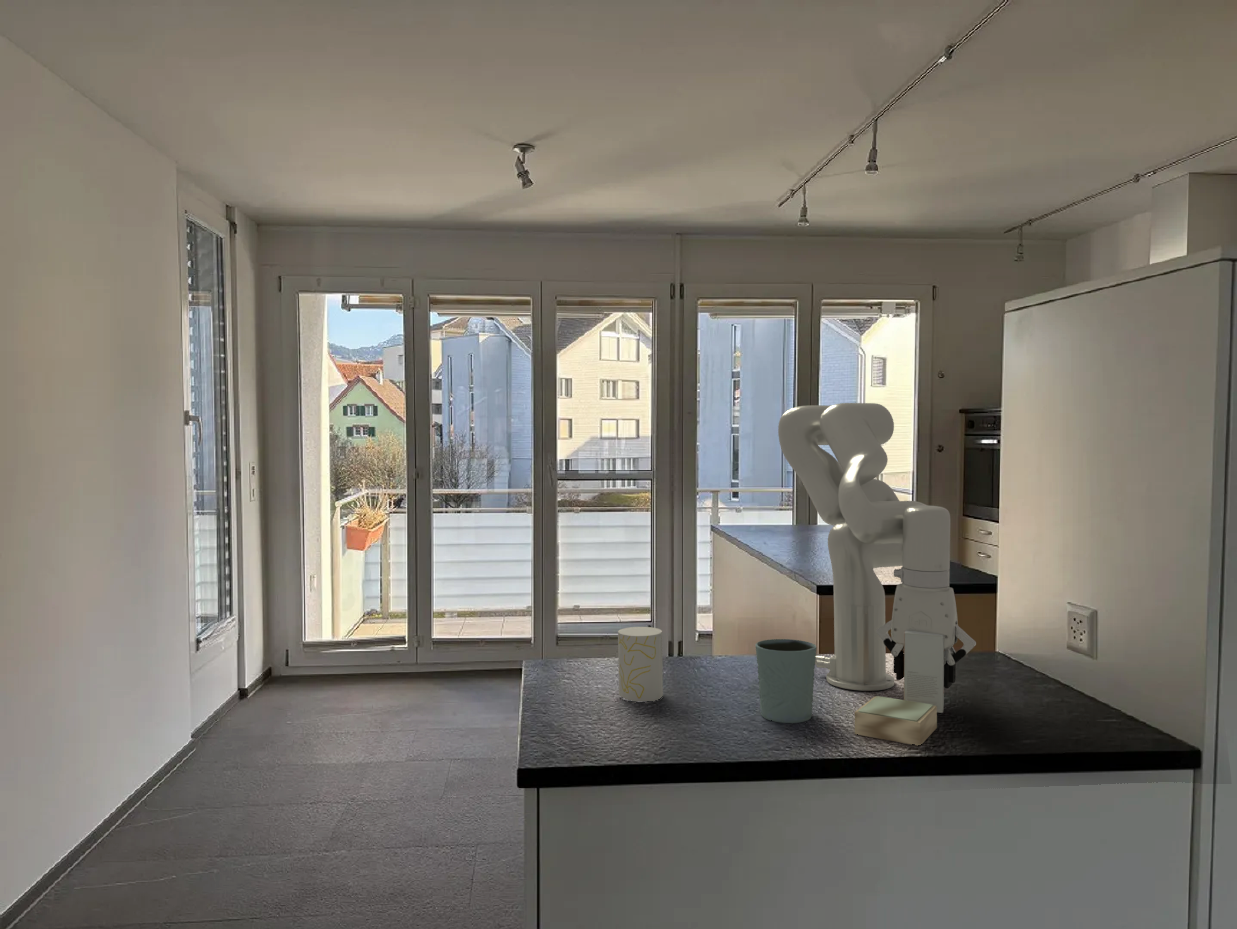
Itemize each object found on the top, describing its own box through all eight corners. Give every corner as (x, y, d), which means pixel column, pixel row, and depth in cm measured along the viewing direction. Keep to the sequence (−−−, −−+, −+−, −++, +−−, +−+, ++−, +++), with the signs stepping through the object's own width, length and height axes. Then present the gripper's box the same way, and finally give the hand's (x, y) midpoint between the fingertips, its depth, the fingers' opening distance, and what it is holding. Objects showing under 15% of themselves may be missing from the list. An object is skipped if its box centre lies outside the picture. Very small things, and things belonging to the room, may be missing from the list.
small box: (905, 694, 146) (906, 621, 145) (943, 698, 144) (945, 624, 143) (902, 709, 138) (903, 632, 138) (943, 713, 136) (944, 635, 136)
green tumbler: (751, 720, 138) (750, 648, 138) (762, 703, 147) (761, 636, 147) (813, 727, 134) (812, 653, 134) (820, 709, 144) (819, 640, 144)
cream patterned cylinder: (612, 700, 151) (611, 634, 150) (628, 688, 158) (627, 625, 158) (654, 704, 147) (653, 637, 147) (668, 692, 155) (667, 628, 155)
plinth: (854, 734, 130) (854, 710, 130) (874, 717, 139) (874, 695, 139) (920, 746, 125) (919, 721, 125) (936, 727, 133) (936, 704, 133)
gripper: (867, 576, 142) (866, 679, 143) (975, 588, 132) (973, 697, 133) (881, 570, 148) (879, 668, 149) (985, 580, 138) (983, 685, 139)
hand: (923, 681), depth 141 cm, fingers closed on small box, 7 cm apart
